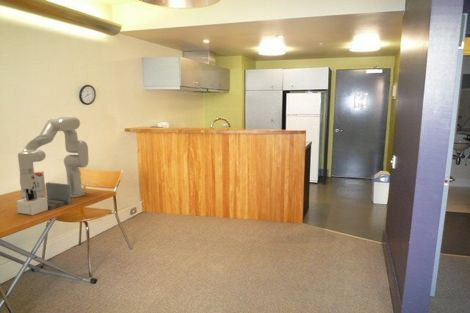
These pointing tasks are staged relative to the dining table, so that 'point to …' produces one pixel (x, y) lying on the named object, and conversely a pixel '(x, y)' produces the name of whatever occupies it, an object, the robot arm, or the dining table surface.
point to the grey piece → (58, 195)
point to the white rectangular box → (32, 205)
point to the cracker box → (40, 188)
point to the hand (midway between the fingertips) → (30, 198)
